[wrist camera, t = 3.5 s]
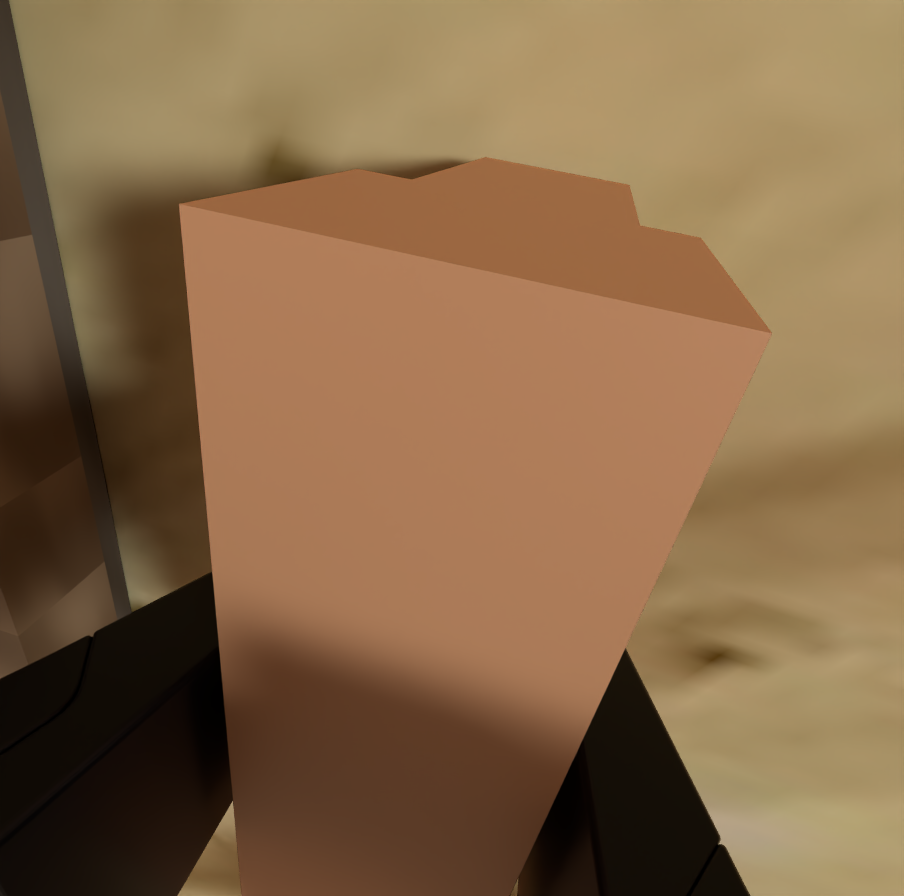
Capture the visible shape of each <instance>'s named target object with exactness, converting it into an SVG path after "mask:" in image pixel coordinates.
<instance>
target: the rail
mask: <svg viewBox="0 0 904 896" xmlns="http://www.w3.org/2000/svg"><path fill="white" fill-rule="evenodd" d="M130 613H131V608H130V603H129V598H128V593H127V588H126V583H125V578H124V573H123V568H122V563H121V558H120V553H119V548H118V543H117V538H116V533H115V528H114V523H113V518H112V513H111V508H110V503H109V498H108V493H107V488H106V483H105V478H104V473H103V468H102V463H101V458H100V453H99V448H98V443H97V438H96V433H95V428H94V423H93V418H92V413H91V408H90V403H89V398H88V393H87V388H86V383H85V378H84V374H83V369H82V364H81V359H80V354H79V349H78V344H77V339H76V334H75V329H74V324H73V319H72V314H71V309H70V304H69V299H68V294H67V289H66V284H65V279H64V274H63V269H62V264H61V259H60V254H59V249H58V244H57V239H56V234H55V229H54V224H53V219H52V214H51V209H50V204H49V199H48V194H47V189H46V184H45V179H44V174H43V169H42V164H41V159H40V154H39V149H38V144H37V139H36V134H35V129H34V124H33V120H32V115H31V110H30V105H29V100H28V95H27V90H26V85H25V80H24V75H23V70H22V65H21V60H20V55H19V50H18V45H17V40H16V35H15V30H14V25H13V20H12V15H11V10H10V5H9V0H0V678H2V677H4V676H6V675H9V674H11V673H13V672H15V671H17V670H19V669H21V668H23V667H25V666H27V665H29V664H31V663H33V662H35V661H37V660H39V659H41V658H43V657H45V656H47V655H49V654H52V653H54V652H56V651H57V650H59V649H61V648H63V647H65V646H67V645H69V644H71V643H73V642H75V641H77V640H79V639H81V638H83V637H85V636H88V635H90V636H92V637H93V634H94V633H95V631H97V630H99V629H101V628H103V627H105V626H107V625H109V624H111V623H113V622H115V621H117V620H119V619H120V618H122V617H124V616H126V615H128V614H130Z"/></svg>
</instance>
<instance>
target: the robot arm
mask: <svg viewBox="0 0 904 896" xmlns="http://www.w3.org/2000/svg"><path fill="white" fill-rule="evenodd" d="M232 801H233V795H232V784H231V773H230V762H229V751H228V740H227V728H226V717H225V706H224V695H223V684H222V673H221V662H220V651H219V640H218V629H217V618H216V607H215V596H214V585H213V574H212V572H210V573H208V574H206V575H204V576H202V577H200V578H199V579H197V580H195V581H193V582H191V583H189V584H187V585H185V586H183V587H181V588H179V589H177V590H175V591H173V592H171V593H169V594H167V595H165V596H163V597H161V598H159V599H158V600H156V601H154V602H152V603H150V604H148V605H146V606H144V607H142V608H140V609H138V610H136V611H134V612H132V613H130V614H128V615H126V616H124V617H122V618H120V619H119V620H117V621H115V622H113V623H111V624H109V625H107V626H105V627H103V628H101V629H99V630H97V631H95V633H94V634H93V637H92V636H90V635H88V636H85V637H83V638H81V639H79V640H77V641H75V642H73V643H71V644H69V645H67V646H65V647H63V648H61V649H59V650H57V651H56V652H54V653H52V654H49V655H47V656H45V657H43V658H41V659H39V660H37V661H35V662H33V663H31V664H29V665H27V666H25V667H23V668H21V669H19V670H17V671H15V672H13V673H11V674H9V675H6V676H4V677H2V678H0V896H177V895H178V894H179V892H180V890H181V889H182V887H183V885H184V883H185V882H186V880H187V878H188V877H189V875H190V873H191V871H192V870H193V868H194V866H195V865H196V863H197V861H198V859H199V858H200V856H201V854H202V853H203V851H204V849H205V847H206V846H207V844H208V842H209V841H210V839H211V837H212V835H213V834H214V832H215V830H216V828H217V827H218V825H219V823H220V822H221V820H222V818H223V816H224V815H225V813H226V811H227V810H228V808H229V806H230V804H231V803H232ZM719 842H720V835H719V833H718V831H717V829H716V827H715V825H714V823H713V821H712V819H711V817H710V815H709V813H708V811H707V809H706V807H705V805H704V803H703V801H702V799H701V797H700V795H699V793H698V791H697V789H696V787H695V785H694V783H693V781H692V779H691V777H690V776H689V774H688V772H687V770H686V768H685V766H684V764H683V762H682V760H681V758H680V756H679V754H678V752H677V750H676V748H675V746H674V744H673V742H672V740H671V738H670V736H669V734H668V732H667V730H666V728H665V726H664V724H663V722H662V720H661V718H660V716H659V714H658V712H657V710H656V708H655V706H654V704H653V702H652V700H651V698H650V696H649V694H648V692H647V690H646V688H645V686H644V684H643V682H642V680H641V678H640V676H639V674H638V672H637V670H636V668H635V666H634V664H633V662H632V660H631V658H630V656H629V654H628V652H627V650H626V648H625V650H624V652H623V654H622V656H621V658H620V661H619V663H618V665H617V667H616V669H615V671H614V673H613V676H612V678H611V680H610V682H609V684H608V686H607V688H606V691H605V693H604V695H603V697H602V699H601V701H600V703H599V706H598V708H597V710H596V712H595V714H594V716H593V718H592V721H591V723H590V725H589V727H588V729H587V731H586V733H585V736H584V738H583V740H582V742H581V744H580V746H579V748H578V751H577V753H576V755H575V757H574V759H573V761H572V763H571V766H570V768H569V770H568V772H567V774H566V776H565V778H564V781H563V783H562V785H561V787H560V789H559V791H558V793H557V796H556V798H555V800H554V802H553V804H552V806H551V808H550V811H549V813H548V815H547V817H546V819H545V821H544V823H543V826H542V828H541V830H540V832H539V834H538V836H537V838H536V841H535V843H534V845H533V847H532V849H531V851H530V853H529V856H528V858H527V860H526V862H525V864H524V866H523V868H522V871H521V873H520V875H519V878H518V894H517V896H750V894H749V892H748V890H747V888H746V886H745V885H744V883H743V881H742V879H741V877H740V875H739V873H738V871H737V869H736V867H735V865H734V863H733V861H732V859H731V857H730V855H729V853H728V851H727V849H726V847H725V846H724V845H722V844H719ZM718 844H719V845H718Z"/></svg>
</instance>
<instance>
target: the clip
mask: <svg viewBox="0 0 904 896" xmlns="http://www.w3.org/2000/svg"><path fill="white" fill-rule="evenodd" d="M179 210H180V221H181V232H182V243H183V255H184V266H185V277H186V288H187V299H188V310H189V321H190V332H191V343H192V354H193V365H194V376H195V387H196V398H197V409H198V420H199V431H200V442H201V453H202V464H203V475H204V486H205V497H206V508H207V519H208V530H209V541H210V552H211V563H212V574H213V585H214V596H215V607H216V618H217V629H218V640H219V651H220V662H221V673H222V684H223V695H224V706H225V717H226V728H227V740H228V751H229V762H230V773H231V784H232V795H233V806H234V817H235V828H236V839H237V850H238V861H239V872H240V883H241V894H242V896H510V894H511V892H512V890H513V888H514V886H515V883H516V881H517V879H518V877H519V875H520V873H521V871H522V868H523V866H524V864H525V862H526V860H527V858H528V856H529V853H530V851H531V849H532V847H533V845H534V843H535V841H536V838H537V836H538V834H539V832H540V830H541V828H542V826H543V823H544V821H545V819H546V817H547V815H548V813H549V811H550V808H551V806H552V804H553V802H554V800H555V798H556V796H557V793H558V791H559V789H560V787H561V785H562V783H563V781H564V778H565V776H566V774H567V772H568V770H569V768H570V766H571V763H572V761H573V759H574V757H575V755H576V753H577V751H578V748H579V746H580V744H581V742H582V740H583V738H584V736H585V733H586V731H587V729H588V727H589V725H590V723H591V721H592V718H593V716H594V714H595V712H596V710H597V708H598V706H599V703H600V701H601V699H602V697H603V695H604V693H605V691H606V688H607V686H608V684H609V682H610V680H611V678H612V676H613V673H614V671H615V669H616V667H617V665H618V663H619V661H620V658H621V656H622V654H623V652H624V650H625V648H626V646H627V643H628V641H629V639H630V637H631V635H632V633H633V631H634V628H635V626H636V624H637V622H638V620H639V618H640V616H641V613H642V611H643V609H644V607H645V605H646V603H647V601H648V598H649V596H650V594H651V592H652V590H653V588H654V586H655V584H656V581H657V579H658V577H659V575H660V573H661V571H662V569H663V566H664V564H665V562H666V560H667V558H668V556H669V554H670V551H671V549H672V547H673V545H674V543H675V541H676V539H677V536H678V534H679V532H680V530H681V528H682V526H683V524H684V521H685V519H686V517H687V515H688V513H689V511H690V509H691V506H692V504H693V502H694V500H695V498H696V496H697V494H698V491H699V489H700V487H701V485H702V483H703V481H704V479H705V476H706V474H707V472H708V470H709V468H710V466H711V464H712V461H713V459H714V457H715V455H716V453H717V451H718V449H719V446H720V444H721V442H722V440H723V438H724V436H725V434H726V431H727V429H728V427H729V425H730V423H731V421H732V419H733V416H734V414H735V412H736V410H737V408H738V406H739V404H740V401H741V399H742V397H743V395H744V393H745V391H746V389H747V386H748V384H749V382H750V380H751V378H752V376H753V374H754V371H755V369H756V367H757V365H758V363H759V361H760V359H761V356H762V354H763V352H764V350H765V348H766V346H767V344H768V341H769V339H770V337H771V335H772V333H771V331H770V330H769V329H768V327H767V326H766V324H765V323H764V322H763V320H762V319H761V318H760V316H759V315H758V314H757V312H756V311H755V310H754V308H753V307H752V306H751V304H750V303H749V302H748V300H747V299H746V298H745V296H744V295H743V294H742V292H741V291H740V290H739V288H738V287H737V286H736V284H735V283H734V282H733V280H732V279H731V278H730V276H729V275H728V274H727V272H726V271H725V270H724V268H723V267H722V266H721V264H720V263H719V262H718V260H717V259H716V258H715V256H714V255H713V254H712V252H711V251H710V249H709V248H708V247H707V245H706V244H705V243H704V241H703V240H702V239H701V238H699V237H694V236H689V235H684V234H679V233H674V232H669V231H664V230H659V229H654V228H649V227H644V226H640V224H639V220H638V216H637V212H636V209H635V205H634V201H633V197H632V193H631V190H630V186H629V185H627V184H622V183H616V182H611V181H606V180H601V179H596V178H591V177H585V176H580V175H575V174H570V173H565V172H560V171H554V170H549V169H544V168H539V167H534V166H528V165H523V164H518V163H513V162H508V161H503V160H497V159H492V158H487V157H484V158H481V159H478V160H475V161H471V162H468V163H465V164H461V165H458V166H455V167H451V168H448V169H445V170H442V171H438V172H435V173H432V174H428V175H425V176H422V177H418V178H415V179H412V180H411V179H406V178H401V177H396V176H391V175H386V174H381V173H376V172H371V171H366V170H361V169H354V170H349V171H344V172H339V173H334V174H329V175H324V176H319V177H313V178H308V179H303V180H298V181H293V182H288V183H283V184H278V185H273V186H268V187H262V188H257V189H252V190H247V191H242V192H237V193H232V194H227V195H222V196H217V197H212V198H206V199H201V200H196V201H191V202H186V203H181V204H179Z"/></svg>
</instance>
